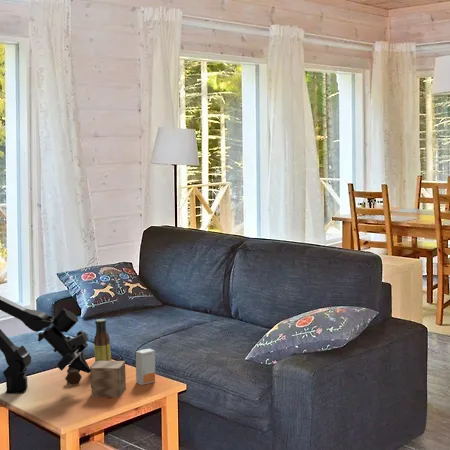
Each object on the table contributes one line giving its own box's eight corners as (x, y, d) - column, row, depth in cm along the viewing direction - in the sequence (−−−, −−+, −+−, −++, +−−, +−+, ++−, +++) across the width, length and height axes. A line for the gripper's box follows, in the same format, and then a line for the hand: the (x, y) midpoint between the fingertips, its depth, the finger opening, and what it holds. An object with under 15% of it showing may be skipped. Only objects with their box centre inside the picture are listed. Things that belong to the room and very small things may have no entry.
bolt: (75, 377, 285) (76, 388, 270) (64, 371, 283) (63, 382, 269) (83, 364, 285) (83, 374, 270) (71, 358, 284) (71, 368, 269)
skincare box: (142, 385, 267) (141, 353, 266) (135, 382, 270) (135, 351, 269) (156, 381, 271) (155, 350, 270) (149, 379, 274) (148, 348, 273)
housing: (90, 396, 256) (89, 367, 255) (97, 388, 265) (96, 360, 264) (119, 397, 255) (119, 368, 254) (125, 388, 264) (125, 360, 263)
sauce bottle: (106, 365, 292) (104, 317, 290) (114, 369, 288) (113, 319, 286) (91, 369, 288) (90, 319, 286) (99, 372, 284) (98, 322, 281)
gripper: (65, 332, 249) (98, 364, 249) (81, 319, 268) (111, 349, 268) (43, 354, 251) (76, 386, 251) (61, 340, 269) (91, 370, 269)
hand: (89, 372), depth 260 cm, fingers closed
